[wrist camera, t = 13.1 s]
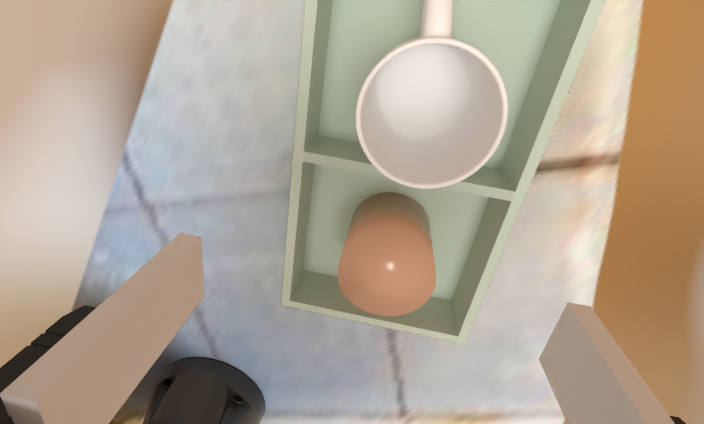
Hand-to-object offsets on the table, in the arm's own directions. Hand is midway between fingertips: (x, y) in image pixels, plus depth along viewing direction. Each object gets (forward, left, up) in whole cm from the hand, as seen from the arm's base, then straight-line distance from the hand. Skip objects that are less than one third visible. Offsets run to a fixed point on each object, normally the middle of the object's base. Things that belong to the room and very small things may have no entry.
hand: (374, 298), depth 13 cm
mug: (+1, +6, -21) cm, 22 cm away
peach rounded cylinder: (+1, -8, -21) cm, 22 cm away
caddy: (+1, -1, -21) cm, 21 cm away
